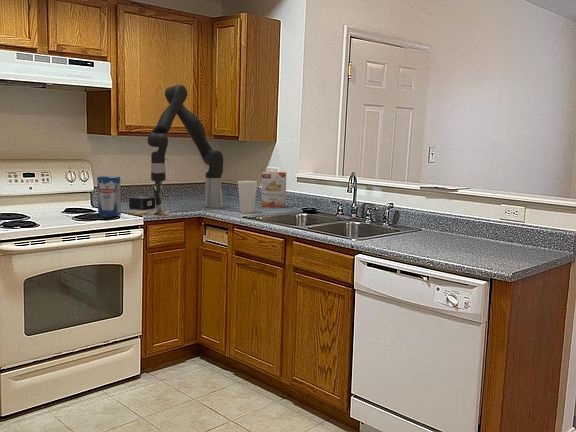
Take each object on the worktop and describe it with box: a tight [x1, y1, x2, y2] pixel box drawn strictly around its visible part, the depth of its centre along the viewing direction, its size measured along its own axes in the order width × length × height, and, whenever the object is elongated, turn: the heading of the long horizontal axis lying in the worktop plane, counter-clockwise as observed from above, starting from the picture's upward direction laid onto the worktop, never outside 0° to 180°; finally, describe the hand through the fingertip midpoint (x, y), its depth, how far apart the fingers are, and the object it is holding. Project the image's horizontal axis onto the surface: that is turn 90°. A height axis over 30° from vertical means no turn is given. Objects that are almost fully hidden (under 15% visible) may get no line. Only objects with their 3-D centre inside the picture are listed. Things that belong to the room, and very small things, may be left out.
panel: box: [128, 210, 171, 216], centre depth 322 cm, size 20×9×1 cm, turn 90°
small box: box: [128, 195, 156, 211], centre depth 343 cm, size 11×6×10 cm
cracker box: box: [261, 170, 287, 208], centre depth 359 cm, size 14×6×21 cm, turn 83°
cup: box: [237, 180, 258, 214], centre depth 334 cm, size 11×10×17 cm
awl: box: [155, 194, 162, 211], centre depth 321 cm, size 3×3×9 cm
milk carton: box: [96, 175, 122, 217], centre depth 312 cm, size 10×6×20 cm, turn 89°
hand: (158, 204), depth 321 cm, fingers closed on awl, 3 cm apart
